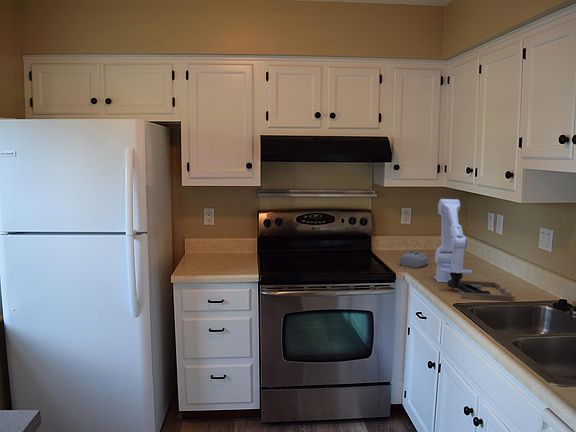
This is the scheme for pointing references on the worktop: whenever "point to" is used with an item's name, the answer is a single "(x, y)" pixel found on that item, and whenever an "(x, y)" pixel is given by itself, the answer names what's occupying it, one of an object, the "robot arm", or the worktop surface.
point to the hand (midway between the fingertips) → (454, 287)
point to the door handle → (468, 288)
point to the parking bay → (505, 297)
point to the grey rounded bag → (414, 259)
